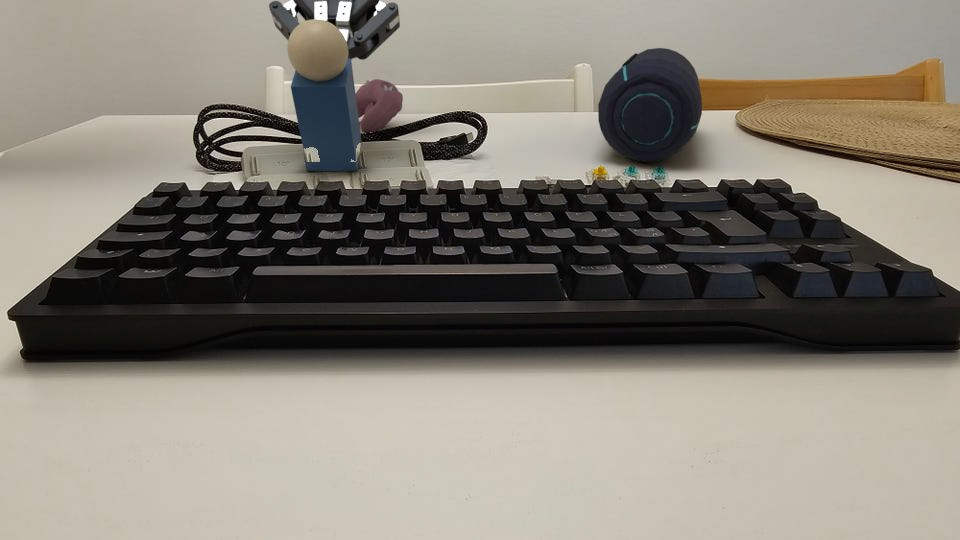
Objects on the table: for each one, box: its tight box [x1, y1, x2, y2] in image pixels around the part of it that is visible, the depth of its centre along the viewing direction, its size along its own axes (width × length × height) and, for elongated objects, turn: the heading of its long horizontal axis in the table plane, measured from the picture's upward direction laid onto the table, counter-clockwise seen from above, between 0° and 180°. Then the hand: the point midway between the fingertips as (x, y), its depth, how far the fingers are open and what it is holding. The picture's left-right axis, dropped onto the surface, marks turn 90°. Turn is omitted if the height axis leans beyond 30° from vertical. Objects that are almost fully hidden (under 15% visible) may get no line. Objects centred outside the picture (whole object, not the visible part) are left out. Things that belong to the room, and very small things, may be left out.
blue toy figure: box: [286, 19, 362, 172], centre depth 61 cm, size 5×5×14 cm
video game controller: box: [355, 78, 404, 134], centre depth 86 cm, size 10×5×7 cm, turn 29°
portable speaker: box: [597, 47, 703, 163], centre depth 75 cm, size 25×10×10 cm, turn 164°
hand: (330, 88), depth 64 cm, fingers closed
